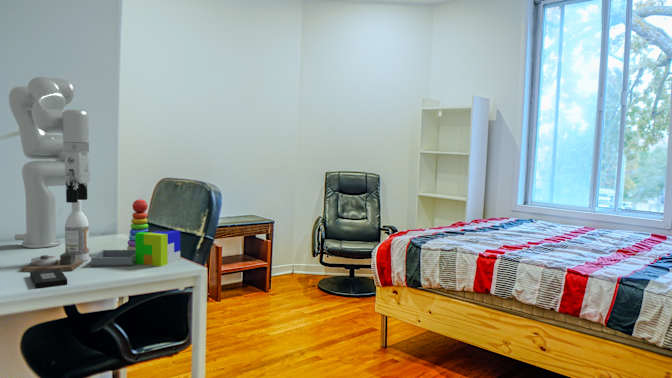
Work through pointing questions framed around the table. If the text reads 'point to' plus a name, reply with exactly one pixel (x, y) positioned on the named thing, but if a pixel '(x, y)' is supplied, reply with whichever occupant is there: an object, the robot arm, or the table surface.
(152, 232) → the puzzle toy
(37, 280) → the vhs tape
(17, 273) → the table surface
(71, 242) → the bath foam
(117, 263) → the tray
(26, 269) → the board
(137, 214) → the stacking toy
